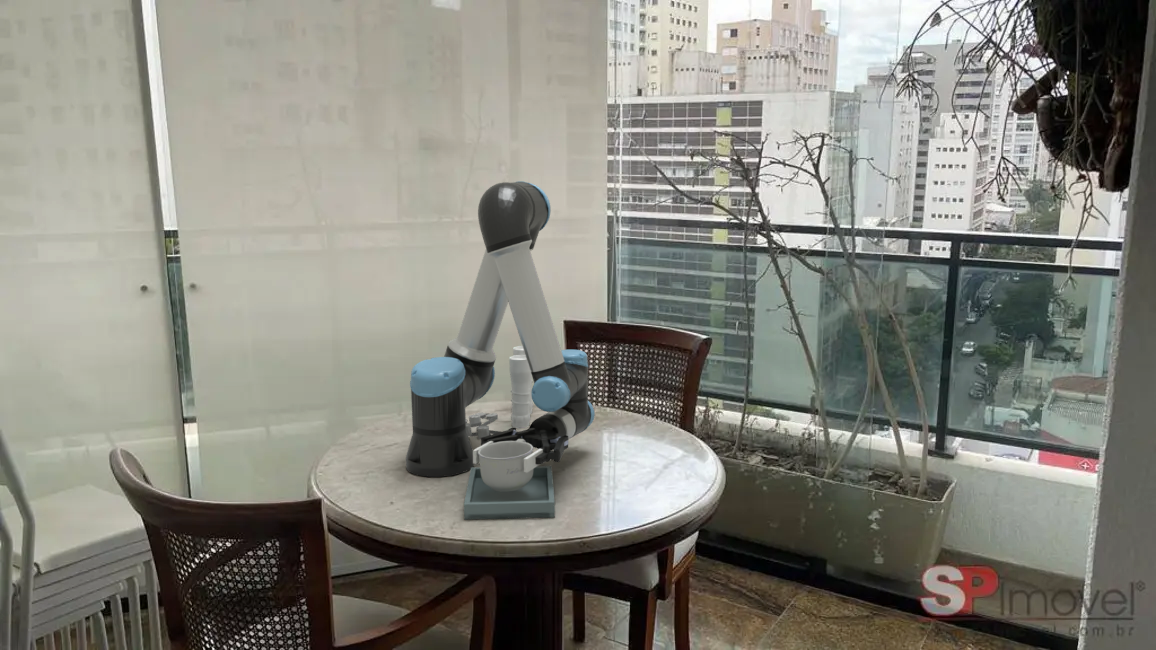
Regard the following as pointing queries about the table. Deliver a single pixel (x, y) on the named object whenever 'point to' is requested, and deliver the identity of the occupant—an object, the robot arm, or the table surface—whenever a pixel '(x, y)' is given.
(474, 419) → the pulley system
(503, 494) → the tray
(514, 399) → the binoculars
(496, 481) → the teacup
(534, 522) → the table surface
